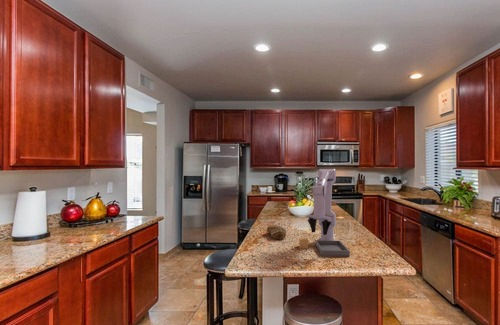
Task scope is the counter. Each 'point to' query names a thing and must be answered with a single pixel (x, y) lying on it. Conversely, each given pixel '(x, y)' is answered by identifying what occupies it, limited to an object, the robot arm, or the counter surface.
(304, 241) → the ochre block
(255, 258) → the counter surface
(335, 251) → the charcoal tray
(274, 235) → the brown rounded lump
